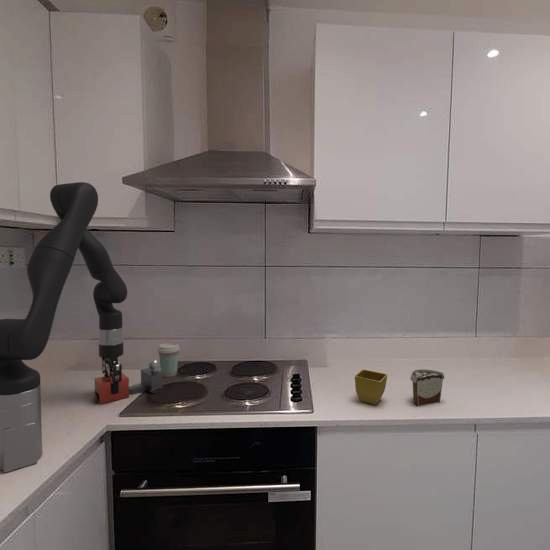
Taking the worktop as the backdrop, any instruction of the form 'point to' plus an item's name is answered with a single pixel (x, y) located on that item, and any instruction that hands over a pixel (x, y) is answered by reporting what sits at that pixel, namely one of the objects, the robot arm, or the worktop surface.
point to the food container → (426, 386)
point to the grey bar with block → (145, 380)
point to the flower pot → (370, 386)
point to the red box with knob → (105, 389)
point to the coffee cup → (168, 358)
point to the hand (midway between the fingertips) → (111, 390)
